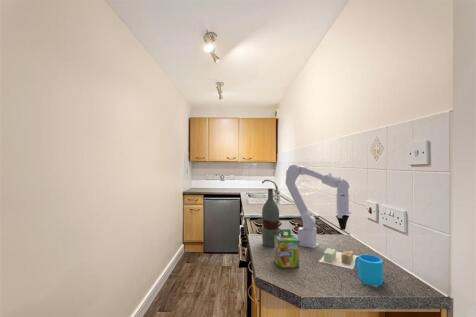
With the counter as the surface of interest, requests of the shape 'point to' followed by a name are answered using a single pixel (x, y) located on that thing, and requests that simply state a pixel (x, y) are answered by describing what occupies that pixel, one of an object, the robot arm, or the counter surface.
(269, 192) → the bottle
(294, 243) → the chalk box
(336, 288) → the counter surface
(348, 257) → the oak block
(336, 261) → the mat
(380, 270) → the mug
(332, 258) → the sage block
